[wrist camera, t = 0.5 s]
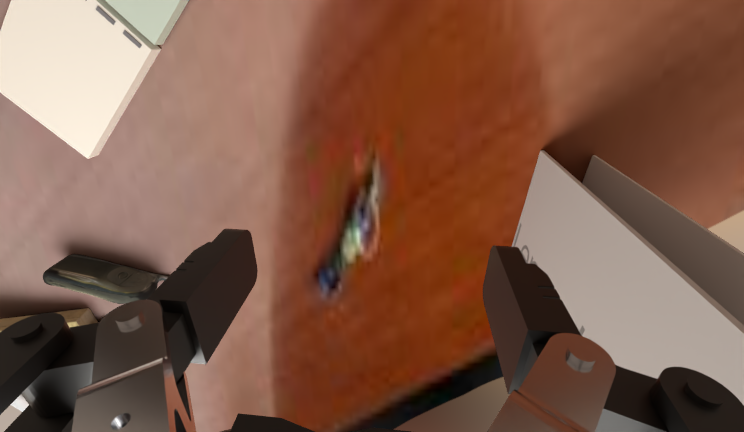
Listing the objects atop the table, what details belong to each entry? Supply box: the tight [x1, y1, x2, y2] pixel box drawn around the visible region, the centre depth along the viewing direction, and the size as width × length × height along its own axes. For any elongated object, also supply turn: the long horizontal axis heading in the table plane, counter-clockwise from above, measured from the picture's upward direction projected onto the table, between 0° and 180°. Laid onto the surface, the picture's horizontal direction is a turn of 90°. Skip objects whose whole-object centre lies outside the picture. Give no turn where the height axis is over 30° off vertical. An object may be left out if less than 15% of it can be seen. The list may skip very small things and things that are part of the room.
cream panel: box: [0, 0, 161, 159], centre depth 36 cm, size 16×12×2 cm
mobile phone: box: [43, 254, 169, 304], centre depth 48 cm, size 5×3×15 cm
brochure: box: [512, 150, 744, 405], centre depth 26 cm, size 14×6×30 cm, turn 176°
